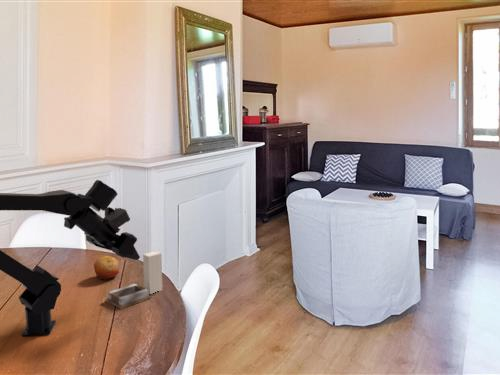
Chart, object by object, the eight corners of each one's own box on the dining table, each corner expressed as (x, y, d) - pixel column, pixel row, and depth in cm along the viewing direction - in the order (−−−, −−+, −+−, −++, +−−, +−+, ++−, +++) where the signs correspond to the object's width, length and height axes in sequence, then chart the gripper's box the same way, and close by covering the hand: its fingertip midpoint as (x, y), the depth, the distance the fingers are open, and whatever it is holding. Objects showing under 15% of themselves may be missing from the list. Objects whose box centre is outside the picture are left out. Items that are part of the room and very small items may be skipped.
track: (120, 309, 122) (120, 300, 122) (106, 300, 128) (105, 291, 127) (151, 298, 129) (150, 290, 129) (136, 290, 135) (135, 282, 134)
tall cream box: (149, 294, 132) (148, 256, 130) (144, 291, 134) (143, 254, 132) (162, 290, 135) (161, 253, 133) (156, 287, 137) (155, 251, 135)
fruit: (107, 265, 152) (113, 249, 148) (119, 281, 148) (125, 265, 145) (85, 272, 146) (91, 255, 142) (97, 289, 142) (104, 272, 138)
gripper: (129, 205, 114) (165, 238, 124) (94, 196, 127) (128, 226, 136) (102, 240, 110) (141, 271, 119) (69, 227, 122) (106, 256, 132)
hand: (129, 254), depth 127 cm, fingers open, 9 cm apart
